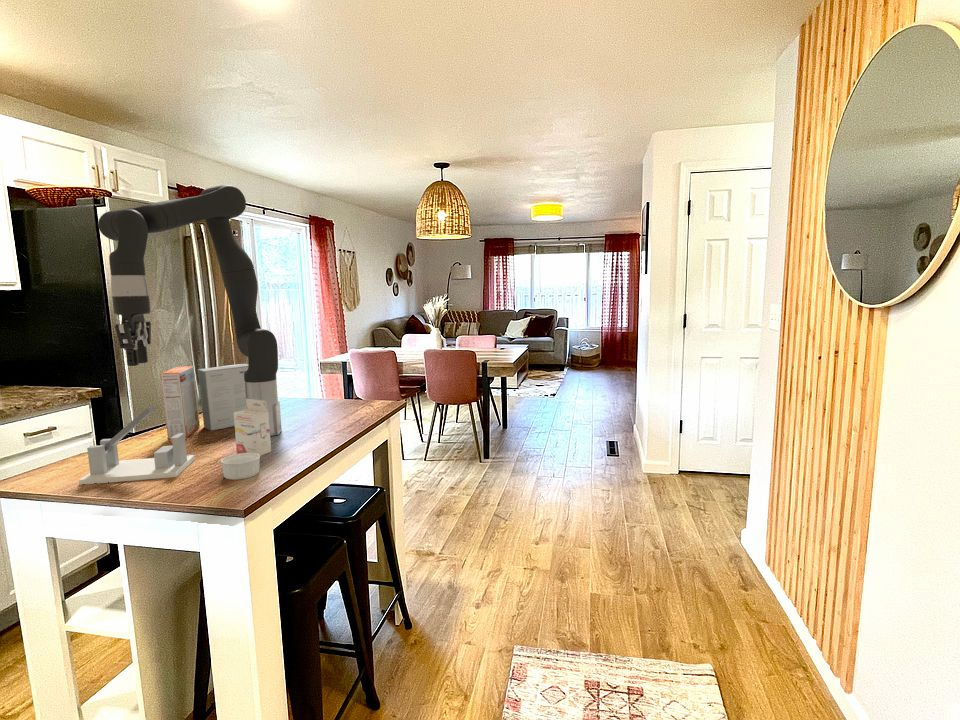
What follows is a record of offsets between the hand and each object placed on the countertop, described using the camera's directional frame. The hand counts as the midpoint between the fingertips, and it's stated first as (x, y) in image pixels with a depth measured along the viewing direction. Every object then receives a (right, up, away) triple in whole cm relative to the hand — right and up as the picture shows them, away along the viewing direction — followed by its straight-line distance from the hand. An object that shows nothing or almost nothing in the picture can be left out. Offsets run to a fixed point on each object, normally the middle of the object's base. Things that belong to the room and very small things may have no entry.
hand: (138, 363), depth 129 cm
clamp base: (-1, -27, +3) cm, 27 cm away
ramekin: (+26, -27, 0) cm, 38 cm away
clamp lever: (-3, -18, +2) cm, 18 cm away
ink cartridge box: (+21, -25, +17) cm, 37 cm away
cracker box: (-11, -23, +39) cm, 46 cm away
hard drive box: (0, -21, +49) cm, 53 cm away
